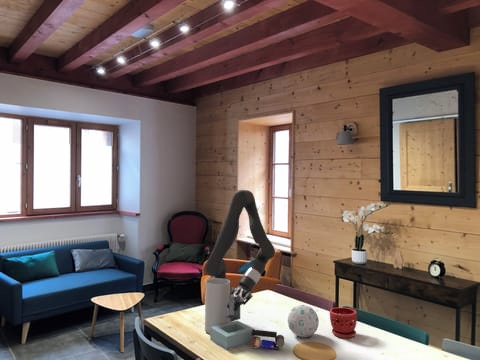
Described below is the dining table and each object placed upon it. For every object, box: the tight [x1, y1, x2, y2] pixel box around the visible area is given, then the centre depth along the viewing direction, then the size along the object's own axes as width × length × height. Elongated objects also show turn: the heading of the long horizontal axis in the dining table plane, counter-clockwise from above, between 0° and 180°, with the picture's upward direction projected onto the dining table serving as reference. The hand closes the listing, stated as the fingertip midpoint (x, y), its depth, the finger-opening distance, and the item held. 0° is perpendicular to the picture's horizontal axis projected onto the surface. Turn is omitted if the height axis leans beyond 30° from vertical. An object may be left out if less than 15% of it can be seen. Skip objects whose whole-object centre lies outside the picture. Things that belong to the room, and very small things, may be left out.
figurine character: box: [250, 329, 285, 351], centre depth 172 cm, size 7×8×15 cm
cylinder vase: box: [204, 278, 231, 334], centre depth 193 cm, size 12×12×25 cm
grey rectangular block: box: [225, 294, 241, 322], centre depth 180 cm, size 6×4×11 cm, turn 131°
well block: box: [209, 320, 256, 351], centre depth 180 cm, size 14×16×6 cm
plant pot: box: [329, 306, 358, 339], centre depth 189 cm, size 13×13×12 cm
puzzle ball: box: [287, 304, 320, 338], centre depth 186 cm, size 15×15×15 cm
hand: (231, 308), depth 179 cm, fingers closed on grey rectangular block, 4 cm apart
